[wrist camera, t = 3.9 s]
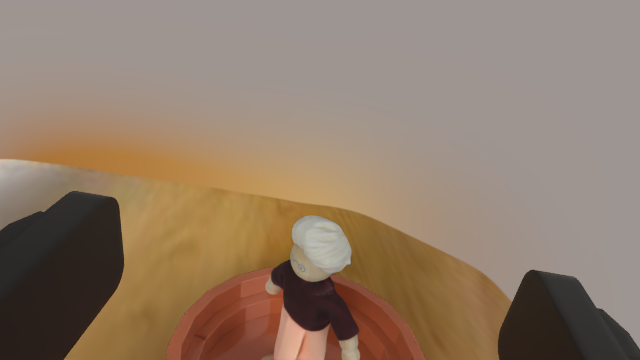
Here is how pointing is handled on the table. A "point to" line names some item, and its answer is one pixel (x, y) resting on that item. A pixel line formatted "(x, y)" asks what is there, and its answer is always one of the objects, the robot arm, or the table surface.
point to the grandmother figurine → (313, 294)
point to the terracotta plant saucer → (264, 319)
